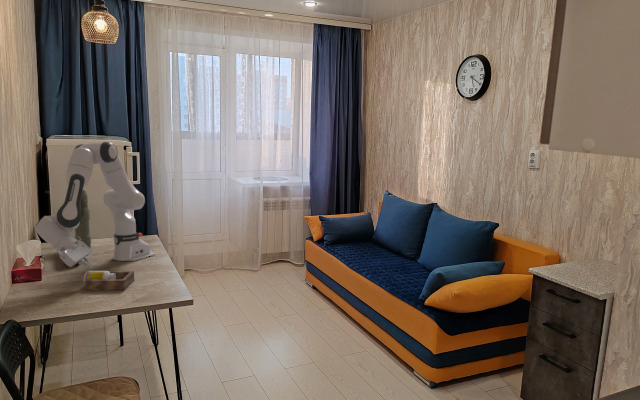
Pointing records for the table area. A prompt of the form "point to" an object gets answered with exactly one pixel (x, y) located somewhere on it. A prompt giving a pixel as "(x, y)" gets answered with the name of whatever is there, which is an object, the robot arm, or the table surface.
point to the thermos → (84, 221)
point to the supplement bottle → (99, 275)
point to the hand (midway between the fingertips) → (89, 266)
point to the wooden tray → (112, 282)
